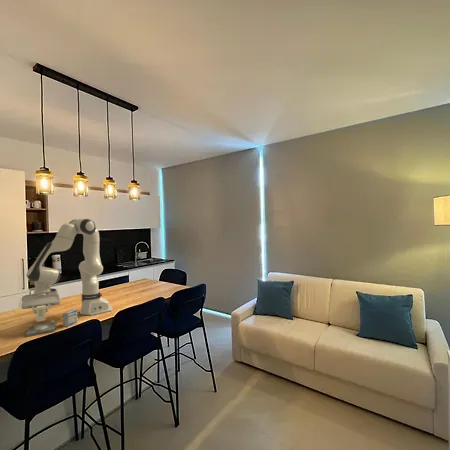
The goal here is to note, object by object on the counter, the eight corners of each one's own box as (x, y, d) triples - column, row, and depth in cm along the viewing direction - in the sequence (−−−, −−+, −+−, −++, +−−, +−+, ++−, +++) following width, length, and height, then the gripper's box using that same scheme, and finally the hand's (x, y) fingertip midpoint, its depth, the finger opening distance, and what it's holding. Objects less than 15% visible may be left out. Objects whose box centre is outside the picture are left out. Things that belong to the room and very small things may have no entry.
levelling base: (54, 324, 171) (54, 319, 171) (54, 331, 159) (54, 326, 159) (28, 328, 163) (28, 324, 163) (26, 336, 151) (26, 331, 151)
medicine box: (68, 326, 167) (68, 313, 167) (62, 326, 168) (62, 313, 168) (77, 322, 175) (77, 309, 175) (71, 321, 175) (71, 309, 176)
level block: (45, 318, 164) (45, 304, 164) (45, 320, 160) (45, 306, 160) (36, 319, 162) (37, 305, 162) (36, 321, 158) (36, 307, 158)
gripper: (21, 292, 161) (19, 312, 153) (60, 288, 173) (60, 307, 164) (22, 298, 165) (20, 317, 157) (60, 294, 176) (60, 312, 168)
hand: (41, 312), depth 161 cm, fingers closed on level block, 4 cm apart
